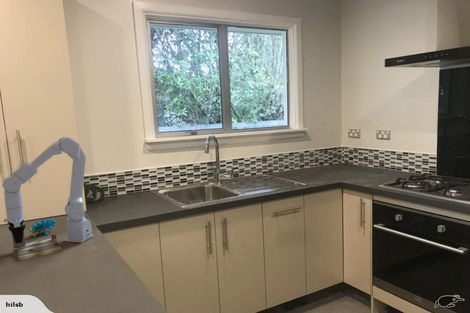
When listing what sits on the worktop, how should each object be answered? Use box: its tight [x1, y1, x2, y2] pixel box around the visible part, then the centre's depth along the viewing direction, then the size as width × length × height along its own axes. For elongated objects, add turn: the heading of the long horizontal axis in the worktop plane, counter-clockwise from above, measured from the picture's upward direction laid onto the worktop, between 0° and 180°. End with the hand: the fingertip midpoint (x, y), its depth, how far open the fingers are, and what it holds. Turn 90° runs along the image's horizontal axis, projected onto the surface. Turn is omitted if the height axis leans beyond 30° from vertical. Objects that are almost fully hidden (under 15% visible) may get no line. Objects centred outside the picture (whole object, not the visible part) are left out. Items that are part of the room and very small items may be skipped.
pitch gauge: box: [16, 233, 62, 262], centre depth 143 cm, size 14×15×4 cm
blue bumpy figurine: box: [28, 218, 57, 238], centre depth 162 cm, size 11×6×10 cm
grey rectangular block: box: [11, 232, 26, 251], centre depth 140 cm, size 4×7×6 cm, turn 34°
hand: (18, 240), depth 142 cm, fingers open, 7 cm apart
